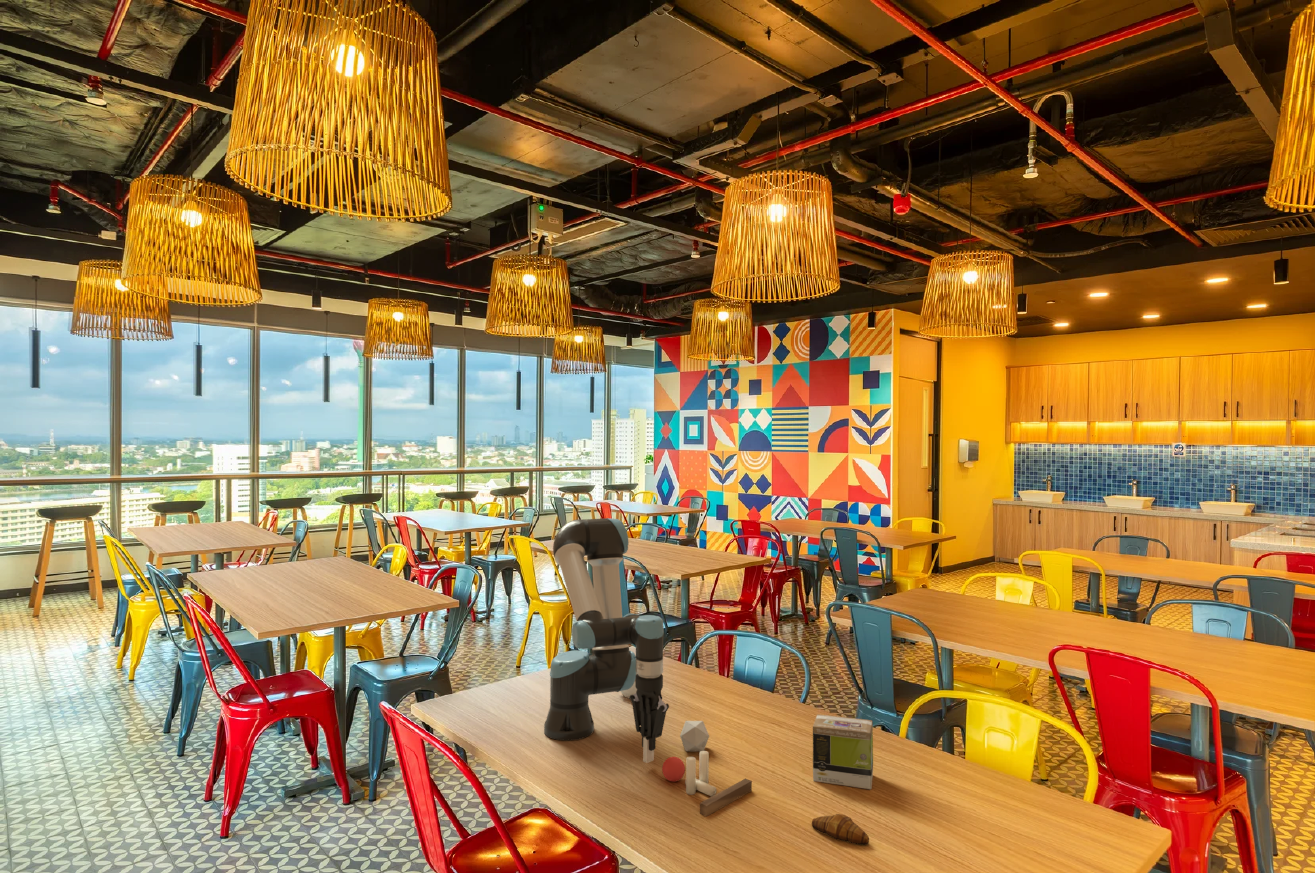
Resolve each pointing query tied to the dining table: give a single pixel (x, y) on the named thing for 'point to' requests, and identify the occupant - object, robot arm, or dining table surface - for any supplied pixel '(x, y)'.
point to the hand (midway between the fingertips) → (648, 760)
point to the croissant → (841, 829)
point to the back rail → (725, 797)
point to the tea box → (843, 751)
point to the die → (694, 736)
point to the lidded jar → (629, 691)
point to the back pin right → (691, 775)
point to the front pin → (705, 788)
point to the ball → (673, 769)
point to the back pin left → (703, 766)
